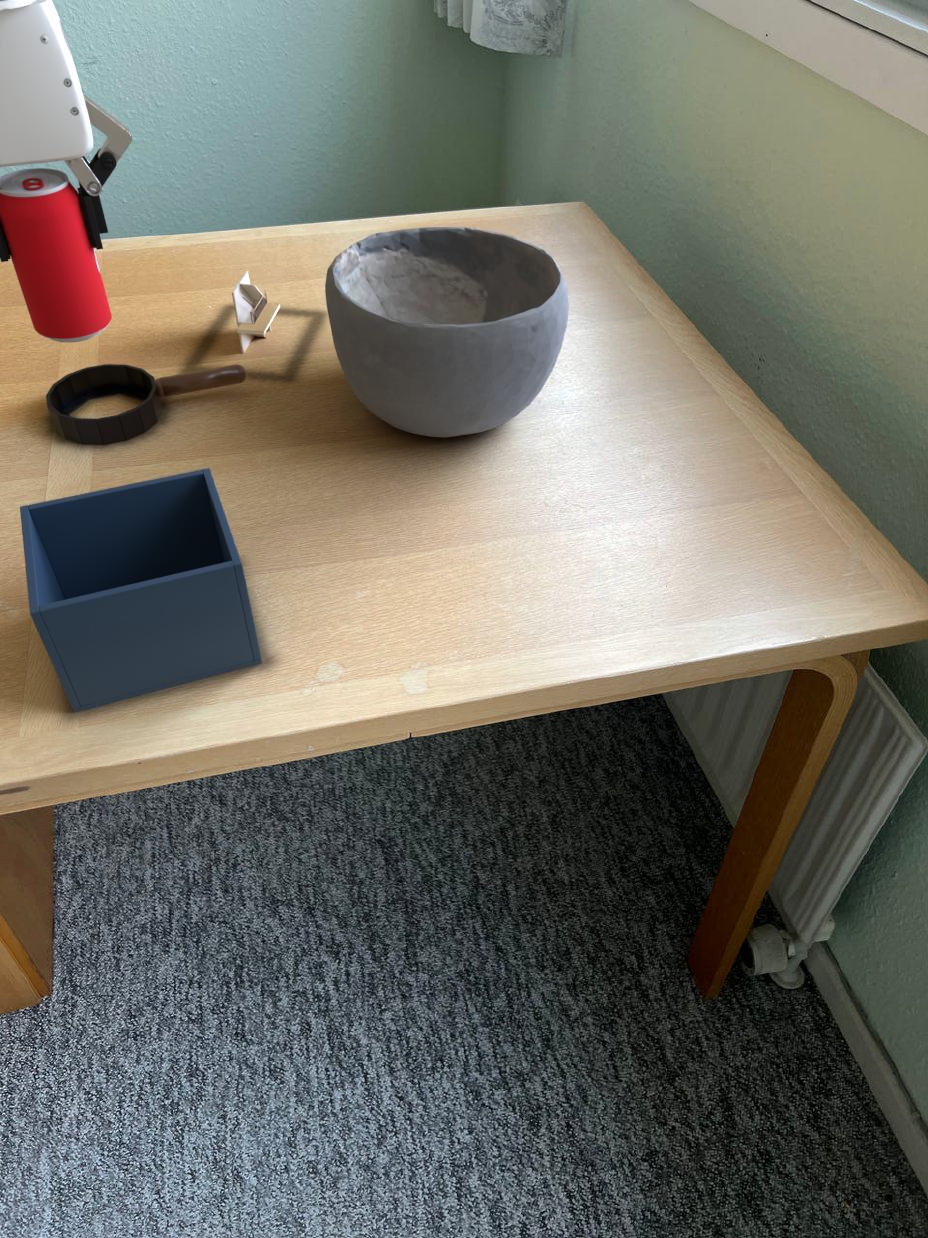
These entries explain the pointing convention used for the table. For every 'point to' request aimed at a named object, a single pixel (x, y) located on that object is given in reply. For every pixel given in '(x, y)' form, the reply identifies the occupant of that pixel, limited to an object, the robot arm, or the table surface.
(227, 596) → the bin
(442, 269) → the bowl
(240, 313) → the architectural model
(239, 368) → the pan
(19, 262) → the beverage can
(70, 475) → the table surface
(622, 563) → the table surface
